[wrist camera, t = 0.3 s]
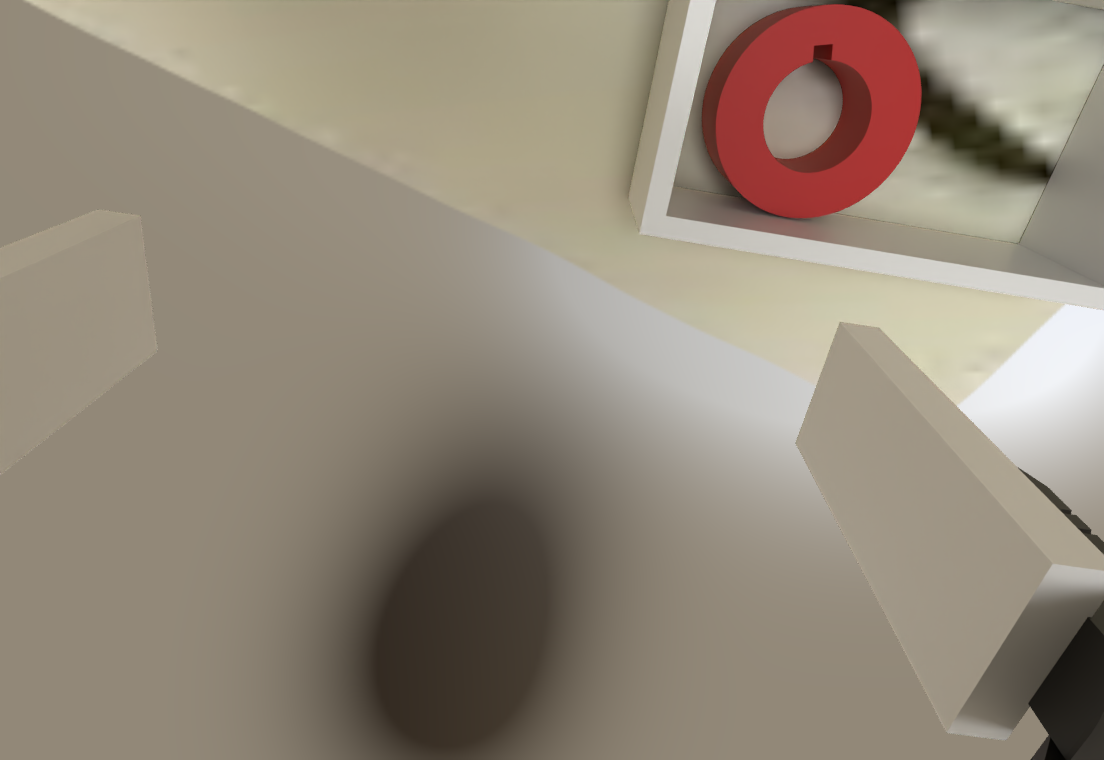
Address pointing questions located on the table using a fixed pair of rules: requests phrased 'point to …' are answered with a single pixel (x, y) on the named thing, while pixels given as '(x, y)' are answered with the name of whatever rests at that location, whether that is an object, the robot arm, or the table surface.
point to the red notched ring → (865, 123)
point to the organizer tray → (864, 244)
